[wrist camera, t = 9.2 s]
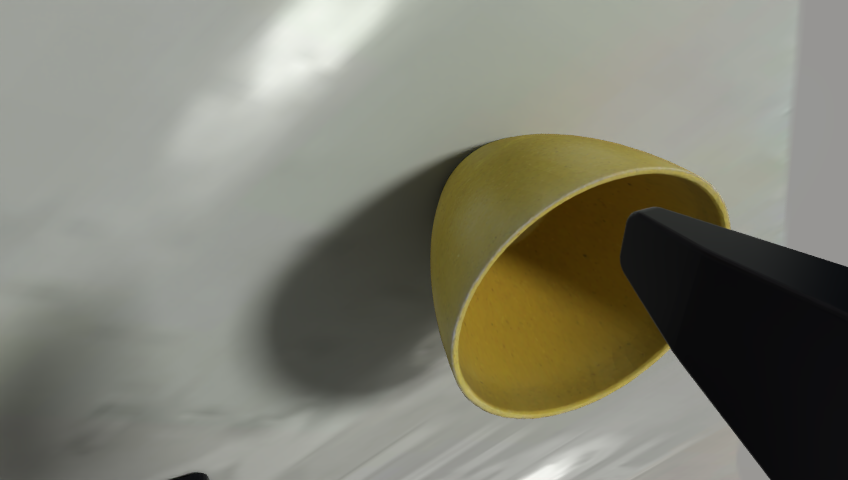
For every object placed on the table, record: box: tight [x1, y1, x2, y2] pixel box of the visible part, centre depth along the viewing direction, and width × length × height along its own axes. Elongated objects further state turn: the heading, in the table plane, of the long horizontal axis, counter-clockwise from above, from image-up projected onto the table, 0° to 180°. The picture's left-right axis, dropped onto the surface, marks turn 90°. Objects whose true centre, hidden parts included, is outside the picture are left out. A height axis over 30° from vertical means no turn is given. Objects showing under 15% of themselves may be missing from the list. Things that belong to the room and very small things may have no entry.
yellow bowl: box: [430, 134, 731, 419], centre depth 23 cm, size 10×10×7 cm
